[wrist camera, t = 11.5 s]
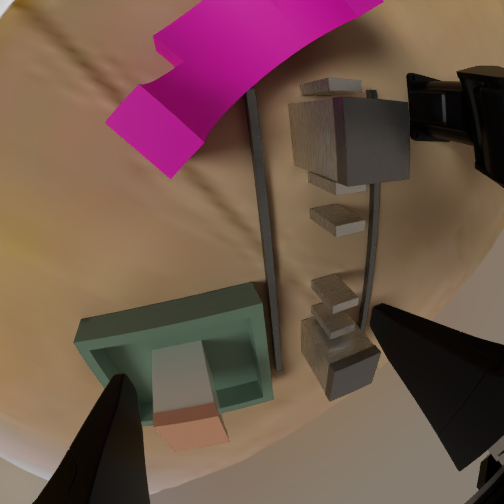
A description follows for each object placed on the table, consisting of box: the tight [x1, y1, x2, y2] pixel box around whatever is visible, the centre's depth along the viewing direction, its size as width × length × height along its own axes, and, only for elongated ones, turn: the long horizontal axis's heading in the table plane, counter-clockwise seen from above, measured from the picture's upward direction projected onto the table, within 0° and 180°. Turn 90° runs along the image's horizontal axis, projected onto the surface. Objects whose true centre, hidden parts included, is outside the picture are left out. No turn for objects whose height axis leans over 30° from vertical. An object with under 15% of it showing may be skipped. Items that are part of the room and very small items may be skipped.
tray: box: [73, 282, 274, 426], centre depth 23 cm, size 15×13×3 cm
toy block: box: [105, 0, 384, 179], centre depth 12 cm, size 15×6×8 cm, turn 134°
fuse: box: [152, 340, 230, 451], centre depth 20 cm, size 5×5×8 cm
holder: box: [244, 78, 410, 402], centre depth 20 cm, size 11×26×7 cm, turn 7°
